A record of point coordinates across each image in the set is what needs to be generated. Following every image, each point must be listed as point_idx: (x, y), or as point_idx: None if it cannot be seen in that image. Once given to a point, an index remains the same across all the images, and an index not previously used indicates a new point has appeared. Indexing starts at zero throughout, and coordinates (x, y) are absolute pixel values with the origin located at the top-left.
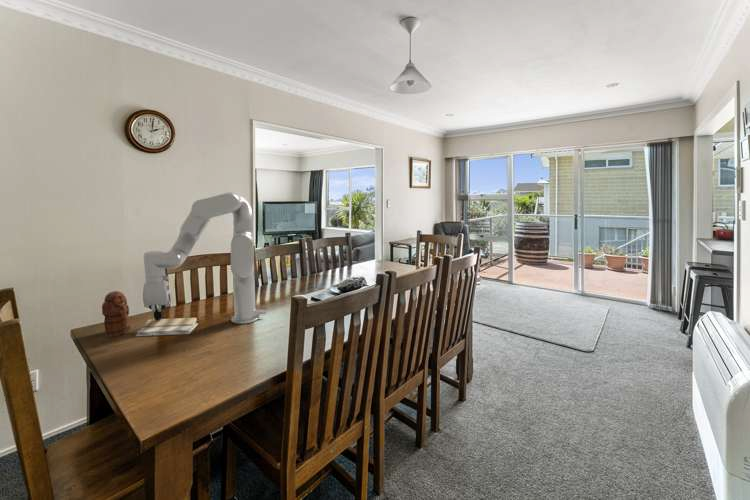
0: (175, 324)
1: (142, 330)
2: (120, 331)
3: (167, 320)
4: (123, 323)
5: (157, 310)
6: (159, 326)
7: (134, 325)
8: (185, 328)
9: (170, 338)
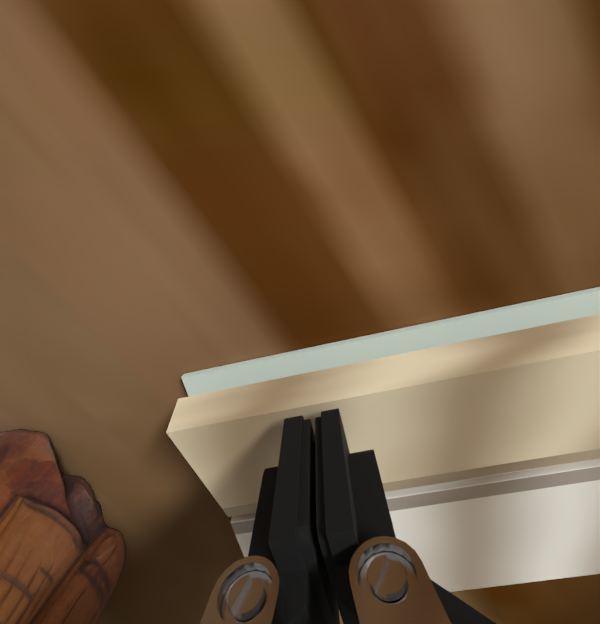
0: (564, 450)
1: None
2: (106, 602)
3: (431, 410)
4: None
5: (312, 601)
6: (386, 489)
7: (21, 369)
8: None
9: (580, 599)
